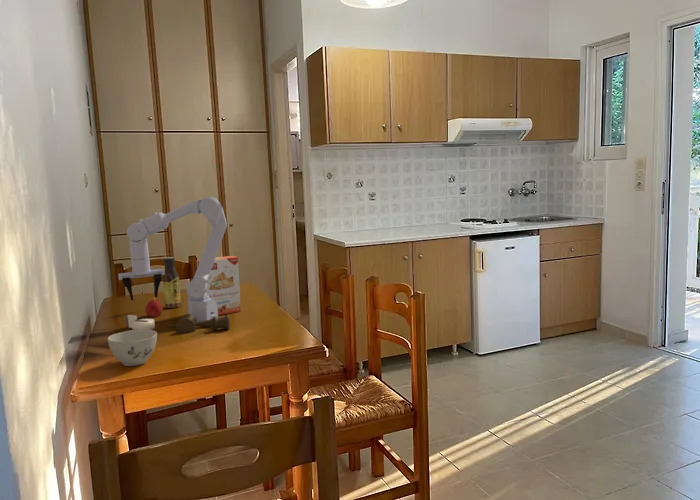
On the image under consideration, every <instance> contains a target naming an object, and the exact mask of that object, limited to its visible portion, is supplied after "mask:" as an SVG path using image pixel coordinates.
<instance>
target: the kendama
mask: <svg viewBox="0 0 700 500" xmlns="http://www.w3.org/2000/svg"><path fill="white" fill-rule="evenodd" d="M197 327H201V328H202V327H203V328H212V329H214V330H215V331H216V330H218V329H225V330H227V331H229V330H230V329H231V318H230V315H229V314H225V316H221V317H219V316H218V317H214V318H213V319H210V320H205V321H200V322H197V320H196V318H195V316H194V315H192V314H189V313H186V314H184V315H183V314H182V316H181V317H180V320H179V321H178V322H177V323H175V324H168V325H166V328H176V332H177V334H186V333H194V332H196V330H197V329H196V328H197Z"/></svg>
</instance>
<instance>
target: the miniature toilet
mask: <svg viewBox="0 0 700 500" xmlns="http://www.w3.org/2000/svg"><path fill="white" fill-rule="evenodd" d="M125 322H126V323H125V324H126V328H128V329H130V328H131V329H132V330H139V331H141V330H153V329H155V327H156V326H155V325H156V323H155V319H154V318H140V319H138V316H137V315H134V314H128V315H125ZM132 330H131V331H132Z"/></svg>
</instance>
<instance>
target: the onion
mask: <svg viewBox="0 0 700 500" xmlns="http://www.w3.org/2000/svg"><path fill="white" fill-rule="evenodd" d="M162 313H163V306H162V304H161V303H160V302H159V301H158V300H156V297H152V298H151V300H150V301H148V303H147V304H146V306H145V314H146V315H147V316H148V317H150V318H155V317H159V316H160V315H162Z"/></svg>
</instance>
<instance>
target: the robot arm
mask: <svg viewBox="0 0 700 500" xmlns="http://www.w3.org/2000/svg"><path fill="white" fill-rule="evenodd" d="M190 214H196V215H198V214H202V215H203V216H204V217H205V218H207V220H208V222H209V224H210V226H211V230H210V232H209V235H208V238H207V240H206V243H205V246H204V249H203V251H202V255H201V258H200V259H201V260H200V259H199V260H200V262H199V265H198V268H197V267H196V271H195V274H194V275H193V278H192V279H191V280H190V282H189V283H188V284H187V286H186V294H187V307H188V308H187V309H188V310H187V311H188V314H192V315H194V316H195V318H196V320H197V322H200V321H205V320H210V319H213V318H214V317H218V318H219V315H218V310H217V303H216V301H215V300H213V299H210V298H209V295H208V294H207V293H206V290H207V288H208V283H207V281H208V277H209V274H210V271H211V268H212V266H213V263H214V260H215V258H216V257H217V254H218V252H219V249H220V246H221V243H222V240H223V237H224V235H225V232H226V230H227V225H228V224H227V223H228V222H227V219H226V216H225V212H224V208H223V205H222V204H221V202H220V201H219V200H218V198H216V197H214V196H206V197H204V198H200V199H197V200H193V201H189V202H187V203H186V204H183V205H181V206H179V207H178V208H175V209H173V210H171V211H170V212H167V213H163V212H160V211H159V212H157V211H155V212H153V213H151V215H150V216H148V217H146V218H144V219H143V218H140V219H138V221H139V222H133V223H132V224H130V225H129V226H128V228H127V230H126V235H127V237H128V238H129V250H130V260H131V261H130V262H131V271H128V272H121V273H118V281H122V282H123V284H124V286H125V288H126V289H127V291H128V293H129V297H130V300H131V301H134V295H133V289H132V279H138V278H146V277H148V278H149V277H152V278H153V286H154V287H153V289H154V290H153V291H154V293H153V294H154V298H158V294H159V293H158V292H159V287H160V284H161V283H162V280H163V275H165V268H158V269H157V268H156V269H151V264H150V263H151V261H150V253H149V244H148V236H152V235H154V234H157V233H159V232H161V231H163V230H166V229H167V228H168V227H169V225H170V223H171V222H173V221H176V220H178V219H180V218H183V217H186V216H187V215H190Z"/></svg>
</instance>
